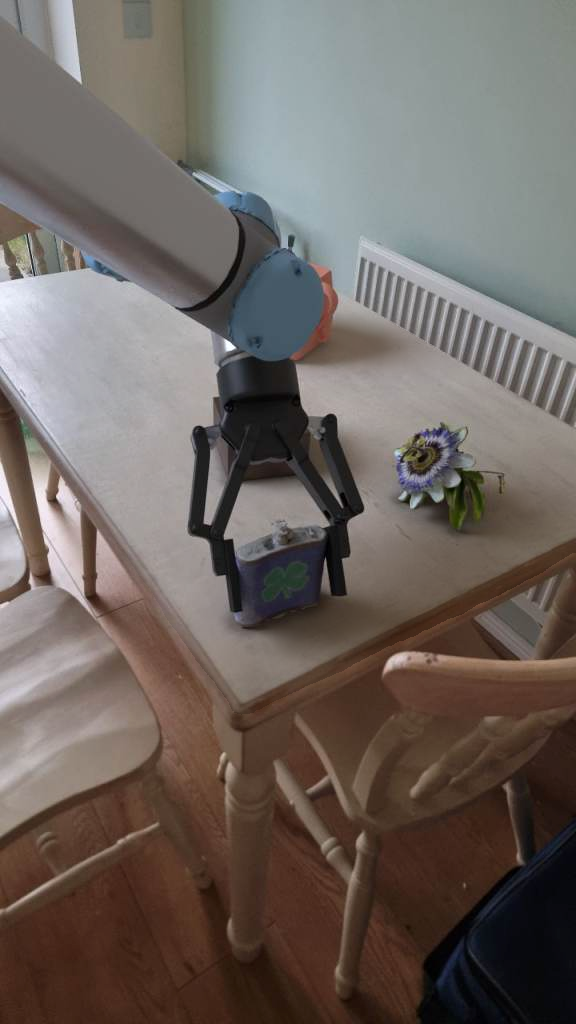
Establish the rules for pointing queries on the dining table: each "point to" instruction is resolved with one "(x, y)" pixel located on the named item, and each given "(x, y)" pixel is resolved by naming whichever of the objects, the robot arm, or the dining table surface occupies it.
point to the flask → (280, 573)
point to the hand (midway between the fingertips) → (288, 603)
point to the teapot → (330, 305)
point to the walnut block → (252, 471)
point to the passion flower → (441, 473)
